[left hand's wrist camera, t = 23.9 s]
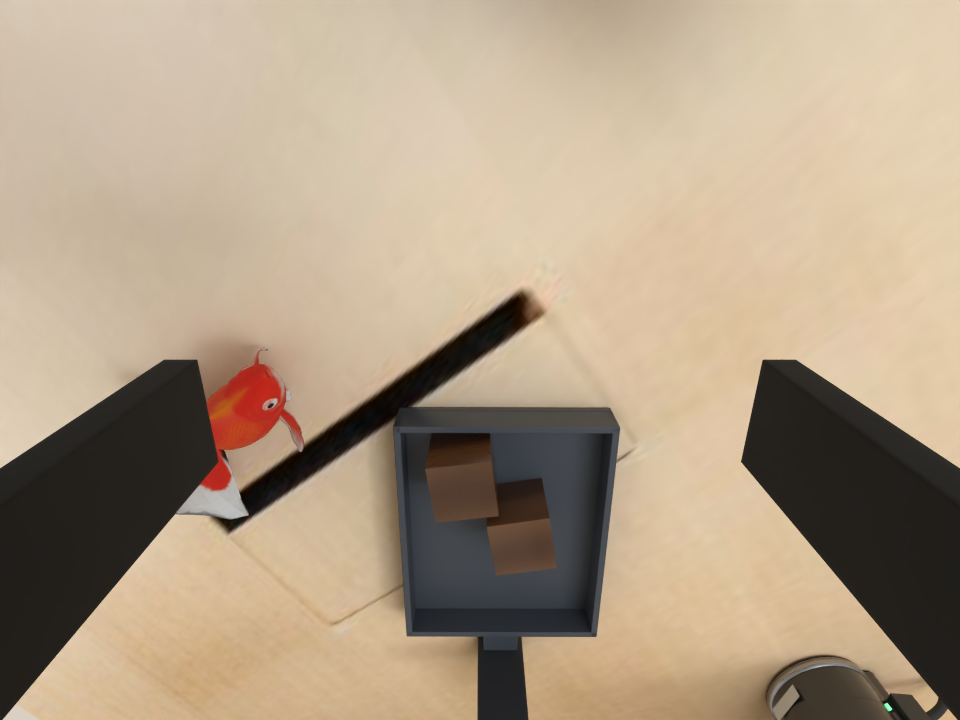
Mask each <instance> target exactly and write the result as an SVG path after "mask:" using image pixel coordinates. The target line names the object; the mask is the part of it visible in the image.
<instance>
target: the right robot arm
mask: <svg viewBox="0 0 960 720" xmlns="http://www.w3.org/2000/svg"><path fill="white" fill-rule="evenodd" d="M767 705H768V707H769V709H770V711H771V713H772V715H773V717H774V719H775V720H938V719H939V718H940V717H941V716H942V715H943V714H944V713H945V712H946V710H947V709H948V708H947V707H946V705H945V704H944V703H943V702H942V701H941V699H940V698H938V702H937V704H936V705H935V706H934V707H933V708H932V709H931V710H929V711H928V712H925V711H924V710H923V709H922V707H921V706H920V705H919V704H918V702H917V701H916V700H915V699H914V697H913V696H912V695H906V694H893V693H891V694H890V695H889V694H888V693H887V692H886V690H885V689H884V688H883V686H882V685H881V684H880V682H879V681H878V680H877V678H876V677H875V676H874V674H873V673H872V672H865V671H862V670H861V668H860V667H858V666H857V665H856V664H854V663H853V662H851V661H848V660H846V659H842V658H836V657H819V658H813V659H809V660H805V661H802V662H799V663H797V664H795V665H793V666H791V667H789V668H788V669H786V670H785V671H783V672H782V673H781V674H780V675H778V676H777V677H776V678H775V680H774V681H773V682H772V684H771V685H770V687H769V689H768V692H767Z"/></svg>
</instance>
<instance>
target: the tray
mask: <svg viewBox="0 0 960 720" xmlns="http://www.w3.org/2000/svg"><path fill="white" fill-rule="evenodd" d="M393 432H394V447H395V463H396V478H397V494H398V509H399V524H400V540H401V555H402V570H403V586H404V601H405V617H406V632H407V636H464V637H478V720H528V709H527V698H526V686H525V674H524V662H523V650H522V638H521V637H596V636H597V627H598V618H599V609H600V600H601V592H602V583H603V574H604V565H605V556H606V548H607V539H608V530H609V521H610V512H611V504H612V495H613V486H614V477H615V468H616V460H617V451H618V442H619V433H620V426H619V424H618V422H617V421H616V419H615V417H614V415H613V413H612V411H611V409H610V408H426V407H400V408H399V411H398V413H397V417H396V420H395V423H394V426H393ZM431 433H491V437H492V444H493V451H494V458H495V465H496V472H497V484H502V483H509V482H516V481H523V480H531V479H538V478H542V480H543V485H544V490H545V496H546V501H547V506H548V512H549V517H550V523H551V530H552V537H553V544H554V551H555V558H556V565H557V568H553V569H546V570H538V571H530V572H522V573H515V574H507V575H499V576H496V572H495V567H494V562H493V557H492V552H491V547H490V542H489V537H488V532H487V525H486V518H477V519H468V520H459V521H449V522H440V523H436V522H435V517H434V512H433V507H432V502H431V497H430V492H429V487H428V482H427V476H426V471H425V467H426V462H427V456H428V450H429V444H430V439H431Z"/></svg>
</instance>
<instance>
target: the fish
mask: <svg viewBox="0 0 960 720" xmlns="http://www.w3.org/2000/svg"><path fill="white" fill-rule="evenodd" d="M261 350H265V351H266V350H268V349H265V348H261V349H260V350H259V351H258V353H257V354H256V356H255V357H254V360H253V363H252V365H249V366H246V367H244V368H242V369H241V370H240V372H239V373H238V375H237V376H236V377H234V378H232V379H231V380H230V381H229V383H228V384H227V385H225V386H223V387H222V388H220V389H219V390H218V391H217V392H216V393H215V394H214V395H212V396H211V398H210V399H209V400H208V401H207V403H206V404H207V408H208V413H209V418H210V422H211V427H212V432H213V437H214V441H215V446H216V451H217V455H218V460H219V462H218V463H217V465H216V466H215V467H214V468H213V469H212V471H211V472H210V473H209V474H208V475H207V477H206V478H205V479H204V480H203V481H202V482H201V484H200V485H199V486H198V487H197V488H196V490H195V491H194V492H193V493H192V494H191V496H190V497H189V498H188V499H187V500H186V502H185V503H184V504H183V505H182V506H181V507H180V509H179V510H178V511H177V512H176V513H175V514H179V515H206V516H215V517H221V518H226V519H234V518H238V517H242V516H247V515H248V514H249V512H248V510H247V508H246V507H245V505H244V503H243V501H242V500H241V497H240V494H239V491H238V488H237V485H236V482H235V479H234V476H233V473H232V471H231V468H230V465H229V462H228V460H227V457H226V454H225V452H224V450H233V449H237V448H241V447H245V446H248V445H250V444H252V443H254V442H256V441H257V440H259V439H261V438H262V437H264V436H265V435H266V434H267V433H268V432H269V431H270V430H271V429H272V427H273V426H274V425H275V424H276V423H277V421H278V420H279V418H280V419H281V420H282V421H283V422H284V423H285V424H286V425H287V426H288V427H289V429H290V432H291V436H292V439H293V441H294V443H295V444H296V446H297V447H298V450H299V452H302V451H303V448H304V440H303V437H302V433H301V428H300V426H299V425H298V423H297V422H296V420H295V418H294V417H293V416H292V415H291V414H290V413H288V412H287V411H286V410H285V409H284V408H283V407H284V405H285V402H286V401H289V400H290V399H291V395H290V391H289V390H286V389H285V386H284V383H283V380H282V378H281V376H280V375H279V374H278V373H277V372H276V371H275V370H274V369H273V368H271V367H269V366H267V365H261V364H259V358H258V354H259V352H260V351H261Z"/></svg>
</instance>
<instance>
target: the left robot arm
mask: <svg viewBox="0 0 960 720" xmlns="http://www.w3.org/2000/svg"><path fill="white" fill-rule="evenodd" d="M218 462H219V460H218V455H217V451H216V446H215V441H214V437H213V432H212V427H211V422H210V418H209V413H208V408H207V404H206V399H205V394H204V389H203V385H202V380H201V375H200V371H199V366H198V361H197V360H163V361H162V362H160V363H159V364H157V365H156V366H154V367H153V368H151V369H150V370H148V371H147V372H145V373H144V374H142V375H140V376H139V377H137V378H136V379H134V380H133V381H131V382H130V383H128V384H127V385H125V386H124V387H122V388H121V389H119V390H118V391H116V392H115V393H113V394H112V395H110V396H109V397H107V398H106V399H104V400H103V401H101V402H100V403H98V404H97V405H95V406H94V407H92V408H91V409H89V410H88V411H86V412H85V413H83V414H82V415H80V416H79V417H77V418H76V419H74V420H73V421H71V422H70V423H68V424H67V425H65V426H64V427H62V428H60V429H59V430H57V431H56V432H54V433H53V434H51V435H50V436H48V437H47V438H45V439H44V440H42V441H41V442H39V443H38V444H36V445H35V446H33V447H32V448H30V449H29V450H27V451H26V452H24V453H23V454H21V455H20V456H18V457H17V458H15V459H14V460H12V461H11V462H9V463H8V464H6V465H5V466H3V467H2V468H0V720H3V718H4V717H5V716H6V715H7V714H8V712H9V711H10V710H11V709H12V708H13V706H14V705H15V704H16V703H17V702H18V701H19V699H20V698H21V697H22V696H23V695H24V693H25V692H26V691H27V690H28V689H29V687H30V686H31V685H32V684H33V683H34V681H35V680H36V679H37V678H38V677H39V676H40V674H41V673H42V672H43V671H44V670H45V668H46V667H47V666H48V665H49V664H50V662H51V661H52V660H53V659H54V658H55V656H56V655H57V654H58V653H59V652H60V651H61V649H62V648H63V647H64V646H65V645H66V643H67V642H68V641H69V640H70V639H71V637H72V636H73V635H74V634H75V633H76V631H77V630H78V629H79V628H80V627H81V625H82V624H83V623H84V622H85V621H86V620H87V618H88V617H89V616H90V615H91V614H92V612H93V611H94V610H95V609H96V608H97V606H98V605H99V604H100V603H101V602H102V600H103V599H104V598H105V597H106V596H107V594H108V593H109V592H110V591H111V590H112V589H113V587H114V586H115V585H116V584H117V583H118V581H119V580H120V579H121V578H122V577H123V575H124V574H125V573H126V572H127V571H128V569H129V568H130V567H131V566H132V565H133V564H134V562H135V561H136V560H137V559H138V558H139V556H140V555H141V554H142V553H143V552H144V550H145V549H146V548H147V547H148V546H149V544H150V543H151V542H152V541H153V540H154V538H155V537H156V536H157V535H158V534H159V533H160V531H161V530H162V529H163V528H164V527H165V525H166V524H167V523H168V522H169V521H170V519H171V518H172V517H173V516H174V515H175V513H176V512H177V511H178V510H179V509H180V507H181V506H182V505H183V504H184V503H185V502H186V500H187V499H188V498H189V497H190V496H191V494H192V493H193V492H194V491H195V490H196V488H197V487H198V486H199V485H200V484H201V482H202V481H203V480H204V479H205V478H206V477H207V475H208V474H209V473H210V472H211V471H212V469H213V468H214V467H215V466H216V465H217V463H218ZM741 462H742V463H743V465H744V466H745V467H746V468H747V469H748V471H749V472H750V473H751V474H752V475H753V477H754V478H755V479H756V480H757V481H758V482H759V484H760V485H761V486H762V487H763V488H764V490H765V491H766V492H767V493H768V494H769V496H770V497H771V498H772V499H773V500H774V502H775V503H776V504H777V505H778V506H779V507H780V509H781V510H782V511H783V512H784V513H785V515H786V516H787V517H788V518H789V519H790V521H791V522H792V523H793V524H794V525H795V527H796V528H797V529H798V530H799V531H800V533H801V534H802V535H803V536H804V537H805V538H806V540H807V541H808V542H809V543H810V544H811V546H812V547H813V548H814V549H815V550H816V552H817V553H818V554H819V555H820V556H821V558H822V559H823V560H824V561H825V562H826V564H827V565H828V566H829V567H830V568H831V569H832V571H833V572H834V573H835V574H836V575H837V577H838V578H839V579H840V580H841V581H842V583H843V584H844V585H845V586H846V587H847V589H848V590H849V591H850V592H851V593H852V594H853V596H854V597H855V598H856V599H857V600H858V602H859V603H860V604H861V605H862V606H863V608H864V609H865V610H866V611H867V612H868V614H869V615H870V616H871V617H872V618H873V620H874V621H875V622H876V623H877V624H878V625H879V627H880V628H881V629H882V630H883V631H884V633H885V634H886V635H887V636H888V637H889V639H890V640H891V641H892V642H893V643H894V645H895V646H896V647H897V648H898V649H899V651H900V652H901V653H902V654H903V655H904V656H905V658H906V659H907V660H908V661H909V662H910V664H911V665H912V666H913V667H914V668H915V670H916V671H917V672H918V673H919V674H920V676H921V677H922V678H923V679H924V680H925V681H926V683H927V684H928V685H929V686H930V687H931V689H932V690H933V691H934V692H935V693H936V695H937V696H938V697H939V698H940V699H941V701H942V702H943V703H944V704H945V705H946V707H947V708H948V709H949V710H950V711H951V712H952V714H953V715H954V716H955V717H956V718H957V720H960V468H958V467H957V466H955V465H954V464H952V463H951V462H949V461H948V460H946V459H945V458H943V457H942V456H940V455H939V454H937V453H936V452H934V451H933V450H931V449H930V448H928V447H927V446H925V445H924V444H922V443H921V442H919V441H918V440H916V439H915V438H913V437H912V436H910V435H909V434H907V433H906V432H904V431H903V430H901V429H900V428H898V427H896V426H895V425H893V424H892V423H890V422H889V421H887V420H886V419H884V418H883V417H881V416H880V415H878V414H877V413H875V412H874V411H872V410H871V409H869V408H868V407H866V406H865V405H863V404H862V403H860V402H859V401H857V400H856V399H854V398H853V397H851V396H850V395H848V394H847V393H845V392H844V391H842V390H841V389H839V388H838V387H836V386H835V385H833V384H832V383H830V382H829V381H827V380H826V379H824V378H823V377H821V376H820V375H818V374H816V373H815V372H813V371H812V370H810V369H809V368H807V367H806V366H804V365H803V364H801V363H800V362H798V361H797V360H763V361H762V366H761V371H760V375H759V380H758V385H757V389H756V394H755V399H754V404H753V408H752V413H751V418H750V422H749V427H748V432H747V437H746V441H745V446H744V451H743V455H742V460H741Z"/></svg>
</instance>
